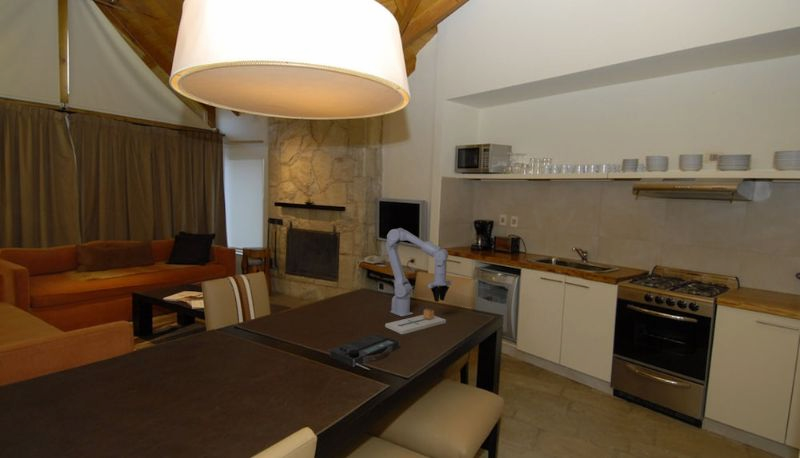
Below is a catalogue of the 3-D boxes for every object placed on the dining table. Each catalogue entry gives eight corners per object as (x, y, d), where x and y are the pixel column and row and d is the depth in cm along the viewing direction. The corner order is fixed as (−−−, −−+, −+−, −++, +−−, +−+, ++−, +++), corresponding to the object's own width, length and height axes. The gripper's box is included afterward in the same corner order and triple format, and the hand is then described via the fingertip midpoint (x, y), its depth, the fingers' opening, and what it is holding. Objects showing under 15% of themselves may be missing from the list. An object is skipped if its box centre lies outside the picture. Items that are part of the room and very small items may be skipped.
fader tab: (423, 317, 197) (423, 308, 197) (427, 315, 199) (428, 307, 199) (429, 319, 194) (429, 310, 194) (433, 318, 196) (433, 309, 196)
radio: (375, 330, 171) (412, 343, 158) (375, 340, 171) (412, 353, 158) (329, 346, 151) (367, 362, 139) (329, 357, 152) (367, 374, 139)
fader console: (385, 326, 187) (385, 323, 187) (428, 316, 205) (428, 313, 205) (402, 334, 178) (402, 330, 178) (445, 322, 196) (445, 319, 196)
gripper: (435, 276, 191) (434, 304, 193) (456, 273, 201) (455, 300, 202) (425, 274, 197) (424, 301, 198) (445, 271, 206) (444, 297, 207)
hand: (439, 300), depth 200 cm, fingers open, 3 cm apart
